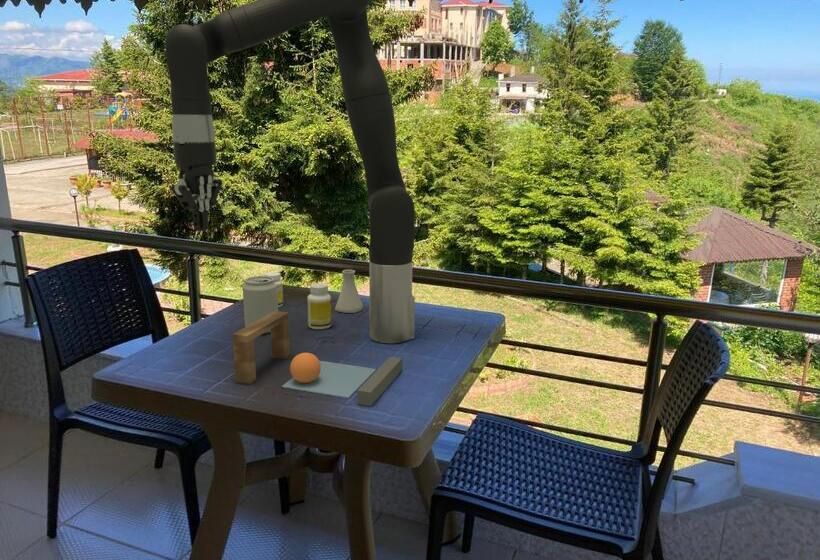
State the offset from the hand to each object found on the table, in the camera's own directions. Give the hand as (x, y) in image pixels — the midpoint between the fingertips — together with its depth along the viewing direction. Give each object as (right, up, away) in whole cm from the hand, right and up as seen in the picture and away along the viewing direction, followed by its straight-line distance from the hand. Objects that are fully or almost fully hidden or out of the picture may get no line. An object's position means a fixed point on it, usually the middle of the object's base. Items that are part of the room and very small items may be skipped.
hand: (201, 230), depth 119 cm
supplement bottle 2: (+20, -21, +22) cm, 36 cm away
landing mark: (+26, -28, -7) cm, 39 cm away
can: (+7, -21, +19) cm, 29 cm away
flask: (+26, -17, +34) cm, 46 cm away
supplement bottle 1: (+6, -17, +37) cm, 41 cm away
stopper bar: (+36, -29, -10) cm, 47 cm away
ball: (+22, -26, -9) cm, 35 cm away
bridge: (+13, -27, -2) cm, 30 cm away
